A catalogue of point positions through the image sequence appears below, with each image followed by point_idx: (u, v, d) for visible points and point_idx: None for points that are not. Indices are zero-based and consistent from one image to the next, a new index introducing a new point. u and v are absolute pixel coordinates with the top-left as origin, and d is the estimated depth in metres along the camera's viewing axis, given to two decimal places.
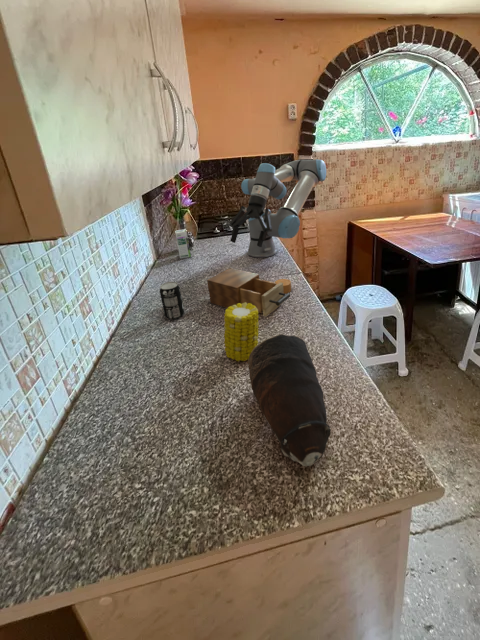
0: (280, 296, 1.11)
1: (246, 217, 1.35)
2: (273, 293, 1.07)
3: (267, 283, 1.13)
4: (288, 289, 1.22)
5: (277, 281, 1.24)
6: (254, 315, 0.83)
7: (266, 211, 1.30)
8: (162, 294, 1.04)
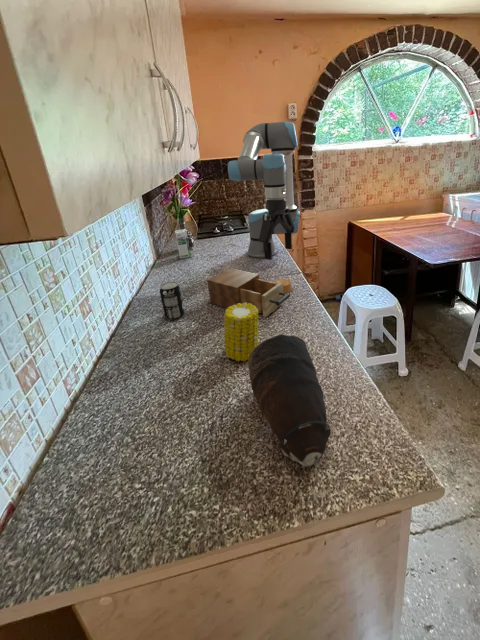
0: (280, 296, 1.11)
1: None
2: (273, 293, 1.07)
3: (267, 283, 1.13)
4: (288, 289, 1.22)
5: (277, 281, 1.24)
6: (254, 315, 0.83)
7: (288, 212, 1.19)
8: (162, 294, 1.04)
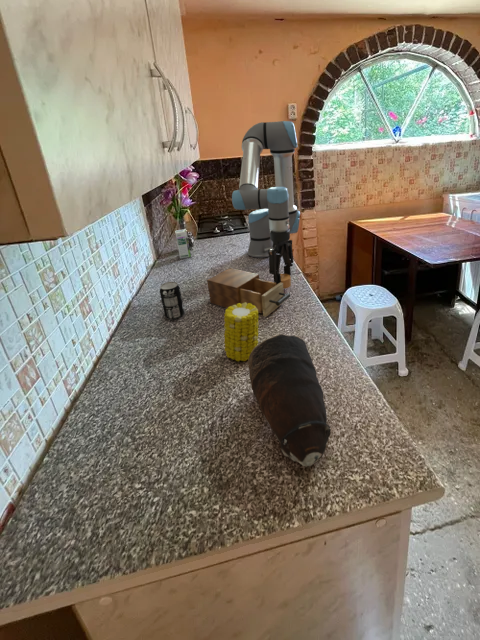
0: (280, 296, 1.11)
1: None
2: (273, 293, 1.07)
3: (267, 283, 1.13)
4: (288, 283, 1.21)
5: None
6: (254, 315, 0.83)
7: (291, 243, 1.22)
8: (162, 294, 1.04)
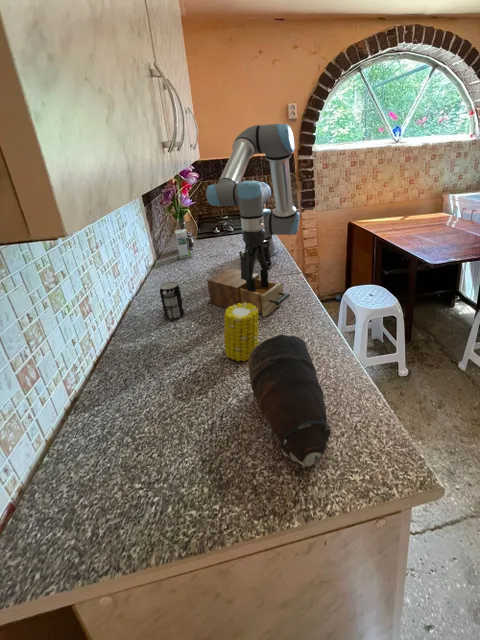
0: (279, 296, 1.11)
1: None
2: (273, 293, 1.07)
3: None
4: None
5: None
6: (254, 315, 0.83)
7: (268, 244, 1.09)
8: (162, 294, 1.04)
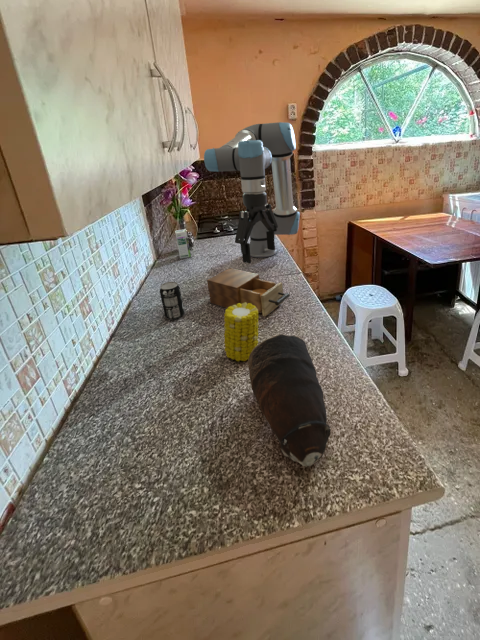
0: (279, 296, 1.11)
1: None
2: (273, 293, 1.07)
3: (266, 283, 1.13)
4: None
5: (253, 291, 1.12)
6: (254, 315, 0.83)
7: (270, 207, 1.04)
8: (162, 294, 1.04)
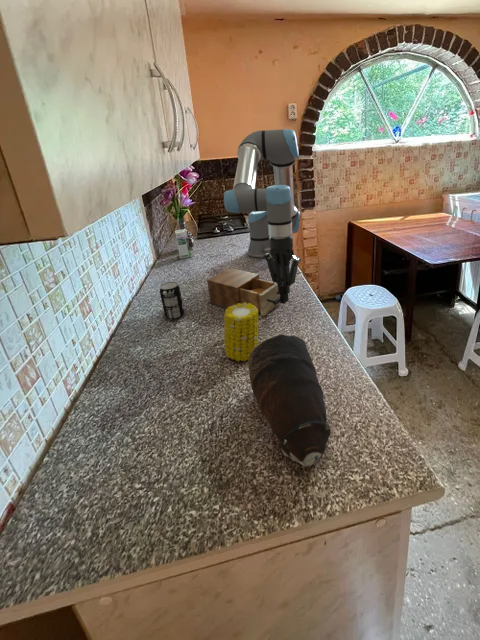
0: (278, 295, 1.11)
1: None
2: (271, 292, 1.07)
3: (265, 282, 1.14)
4: None
5: None
6: (254, 315, 0.83)
7: None
8: (162, 294, 1.04)
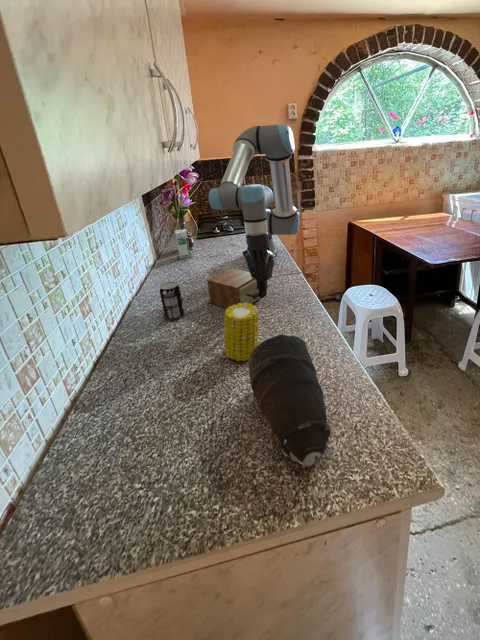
0: (258, 290, 1.16)
1: None
2: (251, 287, 1.12)
3: None
4: None
5: None
6: (254, 315, 0.83)
7: None
8: (162, 294, 1.04)
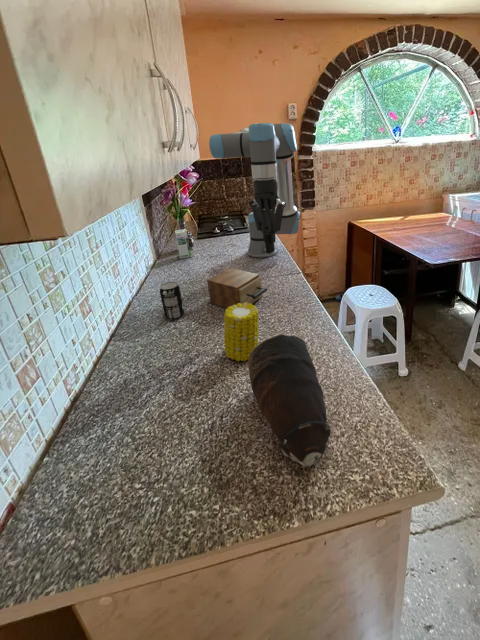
0: (258, 290, 1.16)
1: None
2: (251, 287, 1.12)
3: None
4: None
5: None
6: (254, 315, 0.83)
7: None
8: (162, 294, 1.04)
